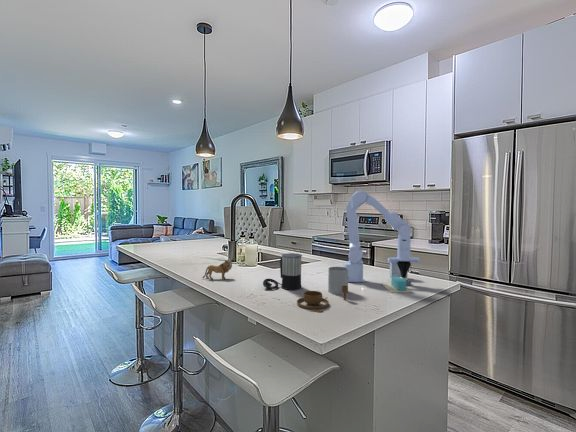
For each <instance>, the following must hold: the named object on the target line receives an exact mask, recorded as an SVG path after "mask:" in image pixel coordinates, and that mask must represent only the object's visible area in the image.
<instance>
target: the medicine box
mask: <svg viewBox="0 0 576 432" xmlns="http://www.w3.org/2000/svg"><path fill="white" fill-rule="evenodd" d="M389 277H390V279H391V278H392V277H401V273H400V269H399V267H398V265H397V262H389ZM406 277H407V278H408V273H407V274H406Z"/></svg>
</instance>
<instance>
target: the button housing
mask: <svg viewBox="0 0 576 432" xmlns="http://www.w3.org/2000/svg"><path fill="white" fill-rule="evenodd" d="M406 286H412V281H411V280H409V279H408V278H407V281H406Z"/></svg>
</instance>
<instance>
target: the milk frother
mask: <svg viewBox="0 0 576 432" xmlns="http://www.w3.org/2000/svg"><path fill="white" fill-rule="evenodd" d="M302 257H303V255H302V254H300V253H296V252H295V253H294V252H293V253H291V252H290V253H289V252H287V253H283V254H281V257H280V260H279V266H280V267H279V269H280V271H279V272H280V279H281V283H280V282H278V281H277V280H276V279H273V278H265V279H264V280H263V282H262V286H263V287H264V288H265V289H267V290H275V289H278V288H279V285H281V288H282V289H283V290H288V289H289V290H290V291H292V290H295V289H296V290H300V289H301V288H302ZM272 283H273V284H274V286H272V285H273V284H272Z"/></svg>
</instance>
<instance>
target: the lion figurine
mask: <svg viewBox="0 0 576 432" xmlns="http://www.w3.org/2000/svg"><path fill="white" fill-rule="evenodd" d="M232 262H233V261H232V260H230V259H227V260H225V261H224V262H223V263H221V264H219V265H214V264H210V265H208V266H206V267H207V268H206V269H205V272H204V275H203V276H202V279H204V278H206V279H208V278H209V279H210V280H213V279H214V278H213V277H212V274H213V272H214V273H216V274H221V278H222V279H223V280H225V279H226V275H225V274H226V273H228V272H229V271H230V270H232V267H233V263H232Z"/></svg>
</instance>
